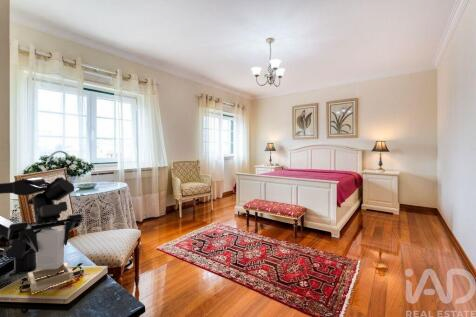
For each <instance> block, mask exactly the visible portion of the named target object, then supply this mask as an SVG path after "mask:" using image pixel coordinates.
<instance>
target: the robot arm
mask: <svg viewBox="0 0 476 317" xmlns="http://www.w3.org/2000/svg"><path fill="white" fill-rule="evenodd" d="M74 191H75V186H74V184H73V183H72V182H70V181H69V180H67V179H65V178H64V177H62V176H59V177H56V178H55V179H54V180H53V181H52V182H50V181H47V180H45V179H44V178H43V177H34V178H33V177H31V178H22V179H19V180H15V181H12V182H0V194H1V195H2V194H14V195H18V196H30V195H33V196H32V197H31V198H30V199H29V200H27V202H26V204H27V205H33V212H34V219H35V223H34V224H30V223H28V221H22V222H13V221H11V220H9V219H7V218H5V217H3V216H1V215H0V236H1V237H4V238H6V239H7V240H8V242H9V246H10V247H9V248H8V249H6V251H5V255H6V258H9V259H11V258H12V259H13V262H14V263H13V264H14V265H13V270H11V271H10V272H9V273H8V275H9V276H12V275H20V274H26V273H27V274H28V273H29V272H32V271H36V253H37V252H38V245H37V233H39V232H40V231H42V230H44V229H52V228H56V227H62V226H63V228H62V229H64V230H65V231H64V247H65V246H67V244H68V240H69V236H70V231H72V230H74V228H75V229H76V228H78V227H80V225H81V223H82V221H83V215H82V214H81V213H72V214H68V215H67V217H66V219H60V218H61V214H62V213H64V212H66V211H68V204H67V201H61V200H63V199H64V198H65V197H67V196H69V195H70V194H71V193H73V192H74ZM57 201H58V202H59V203H55V202H57ZM59 219H60V220H59Z"/></svg>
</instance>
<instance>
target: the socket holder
mask: <svg viewBox="0 0 476 317" xmlns="http://www.w3.org/2000/svg"><path fill="white" fill-rule="evenodd" d="M62 270H64V272H65V273H63V272H62V273H59V274H56V273H58V272H60V271H62ZM54 274H56V275H54ZM47 275H52V276H49V277H46V278H43V279H40V280H35V279H37V278H41V277H44V276H47ZM71 278H73V279H74V271H73V269H72V267H70V265H69V264H68V263H67V261H64V263H63V264H62V265H61V266H60V267H59V268H57V269H43V270H36V269H35V270H34V271H32V272H27V283H28V282H29V284H30V287H29V289H30V288H31V290H30V293H31V292H32V293H35V292H38V291H41V290H44V289H46V288H48V287H50V286H53V285H56V284H59V283H62V282H64V281H66V280H69V279H71ZM29 284H28V285H29ZM32 293H31V294H32Z"/></svg>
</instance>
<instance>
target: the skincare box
mask: <svg viewBox="0 0 476 317" xmlns="http://www.w3.org/2000/svg"><path fill="white" fill-rule="evenodd" d="M64 231H65V230H64V229H63V228H46V229H42V231H40V232H39V233H37V245H38V252H37V253H36V269H35V271H36V270H43V269H57V268H59V267H60V266H61V265H62V264H63V263H64V262H65V245H64Z"/></svg>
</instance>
